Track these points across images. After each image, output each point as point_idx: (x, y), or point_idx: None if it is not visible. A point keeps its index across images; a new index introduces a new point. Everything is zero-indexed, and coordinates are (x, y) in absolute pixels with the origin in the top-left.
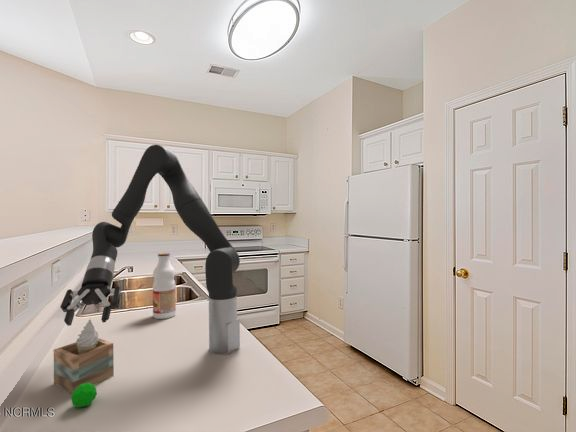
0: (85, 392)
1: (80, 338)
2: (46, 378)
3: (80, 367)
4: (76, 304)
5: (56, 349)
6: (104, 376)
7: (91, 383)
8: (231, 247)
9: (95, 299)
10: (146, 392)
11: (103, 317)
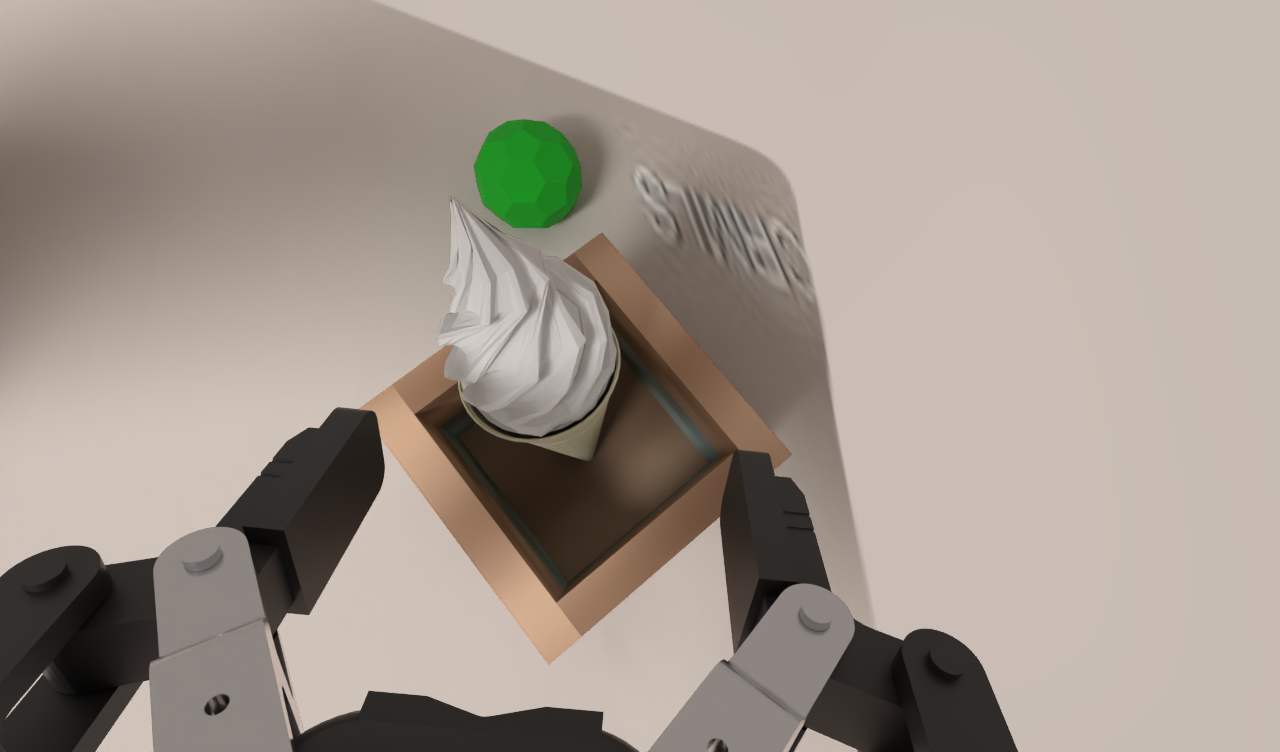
0: (510, 121)
1: (567, 264)
2: None
3: None
4: (731, 664)
5: (771, 449)
6: None
7: (495, 181)
8: None
9: (390, 726)
10: (271, 196)
11: (342, 415)
